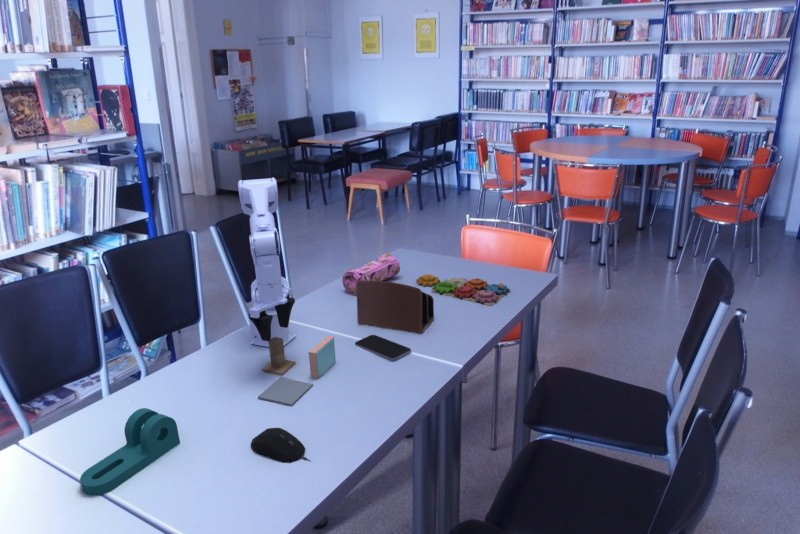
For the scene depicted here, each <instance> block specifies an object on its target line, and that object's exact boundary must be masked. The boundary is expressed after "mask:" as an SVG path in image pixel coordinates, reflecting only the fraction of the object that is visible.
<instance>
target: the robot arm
mask: <svg viewBox="0 0 800 534" xmlns="http://www.w3.org/2000/svg"><path fill="white" fill-rule="evenodd" d="M237 186H238V196H239V202H240V207H241V210H242V211H243V214H244V215H248V216H249V227H250V235H249V237H248V238H249V239H248V240H249V245H250V253H251V257H252V260H253V266H254V271H255V272H254V273H255V279H254V281H252V282H251V285H250V289H251V290H250V294H251V295H250V296H251V304H252V306H251V308H249V314H248V319H249V323H250V324H249V325H250V330H251V338H252V341H250V344H251V345H256V346H261V347H265V348H269V343H268V341H270V340H271V339H272V338H273V337H278V338H283V345H284V347H285V346H286V345H287V344H288V343H291V341H292V340H294V339H296V337H297V336H296V334H291V333H289V325H290V324H289V323H290V318H291V313H292V309H293V307H294V304H295V303H296V301H295V300H296V299H295V298H294V297H291V296H292V295H293V291H292V290H293V289H292V287H289V285H288V284H289V283H288V281H287V279H286V278H285V277H283V276H282V273H281V272H282V271H281V262H280V254H281V244H280V236H279V232H278V230H277V227H276V223H275V217H274V215H273V213H276V212H277V211H278V209H279V208H278V207H279V193H278V183H277V179H276V178H275V177H271V178H270V177H269V178H257V179H246V180H245V179H244V180H242V179H239V181H238V182H237Z"/></svg>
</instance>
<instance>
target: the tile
mask: <svg viewBox="0 0 800 534" xmlns="http://www.w3.org/2000/svg"><path fill="white" fill-rule="evenodd" d="M335 346H336V345H335V337H334V336H332V335H326V336H325V337H324V338H323V339H322V340H321V341H319V342H318V343H316V345H314V347H313V348H311V349H310V350H309V351H308V360H309V369H310V370H309V371H310V372H309V373H310V379H315V380H318V379H319V378H321V377H322V376H323V374H324V373H326V372H327V371H328V370H329V369H330V368H331V367H332V366H333V365H334V364H335V363H336V361H337V359H336V348H335Z"/></svg>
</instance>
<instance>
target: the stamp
mask: <svg viewBox="0 0 800 534" xmlns="http://www.w3.org/2000/svg"><path fill="white" fill-rule="evenodd" d="M268 343H269V347H268V349H269V356H270V361H269V362H268V363H267V364H266V365H264V366H263V367H262V368H261V369H260V370H261V372H262V371H263V373H266V372H267V373H266V374H271V375H272V374H273V375H276V376H280V377H283V376H284V375H285V374H286V373H287V372H289V370H291V369H292V368H293V367H294V366H296V363H297V361H296V360H295V361H294V360H289V359H286V356H285V355H286V354H285V346H284V345H283V338H278V337H273V338H272V339H271V340H270V341H268Z"/></svg>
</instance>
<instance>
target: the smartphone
mask: <svg viewBox="0 0 800 534" xmlns="http://www.w3.org/2000/svg"><path fill="white" fill-rule="evenodd" d="M354 345H355V346H356V347H358V348H360V349H363V350H365V351H367V352H370V353H371V354H373V353H374V355H376V356H378V357H380V358H383V359H384V360H388V361H389V362H395V361H398V360H400V359H402V358H403V357H406V356H407V355H410V354H411V353H412V349H411V348H410V347H407V346H406V345H402V344H400V343H398V342H395V341H393V340H389V339H387V338H384V337H382V336H379V335H376V334H370V335H368V336H366V337H364V338H361V339H359V340H357V341H355V343H354Z"/></svg>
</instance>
